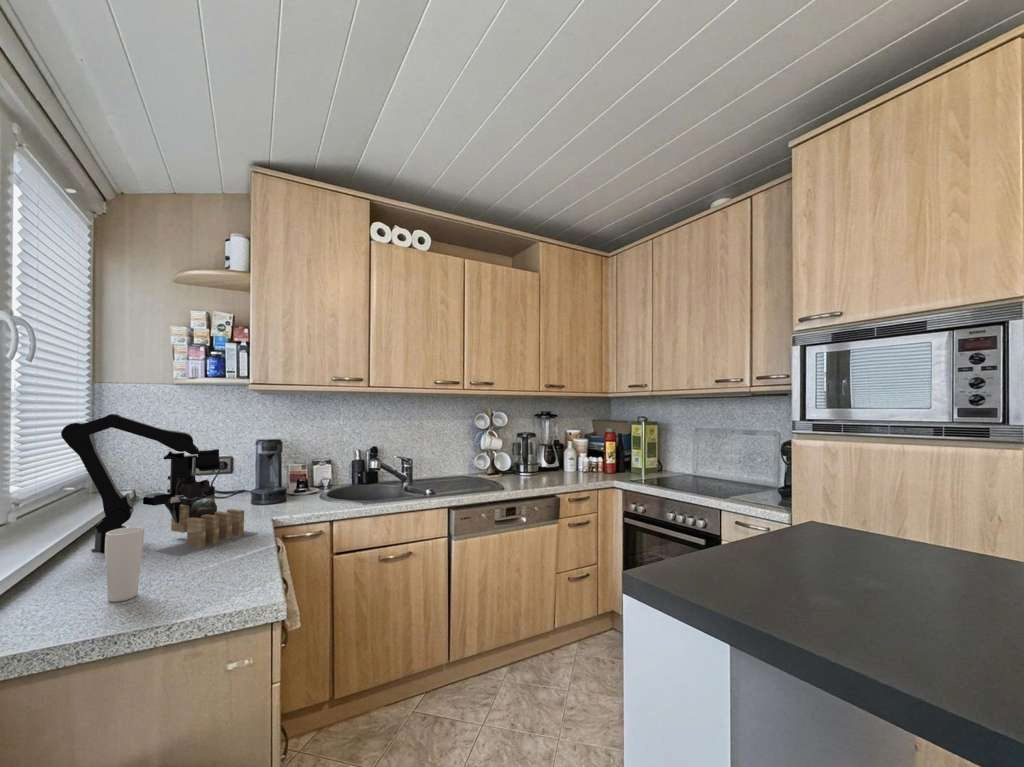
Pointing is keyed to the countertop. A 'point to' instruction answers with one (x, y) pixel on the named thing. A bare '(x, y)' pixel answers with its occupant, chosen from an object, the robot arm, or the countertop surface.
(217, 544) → the slate mat
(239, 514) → the domino
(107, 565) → the beige tall tapered piece
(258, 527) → the countertop surface
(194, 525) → the domino
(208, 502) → the lucky cat figurine
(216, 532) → the domino
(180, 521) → the domino
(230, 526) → the wooden block
